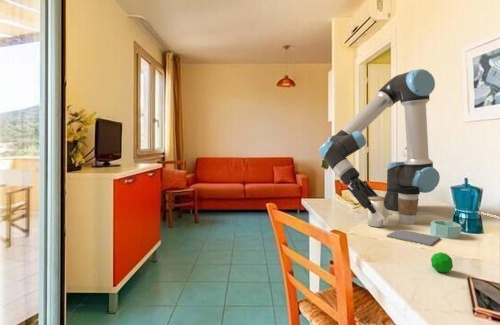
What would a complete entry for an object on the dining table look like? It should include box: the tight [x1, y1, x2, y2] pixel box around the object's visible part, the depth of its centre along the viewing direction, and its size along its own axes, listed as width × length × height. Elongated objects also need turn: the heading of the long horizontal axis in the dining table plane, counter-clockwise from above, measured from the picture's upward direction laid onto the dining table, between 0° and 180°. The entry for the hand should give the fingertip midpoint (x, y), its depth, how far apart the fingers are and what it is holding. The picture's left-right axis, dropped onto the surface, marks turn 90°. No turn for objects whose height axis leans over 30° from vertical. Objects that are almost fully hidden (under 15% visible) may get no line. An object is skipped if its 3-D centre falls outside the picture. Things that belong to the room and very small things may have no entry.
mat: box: [386, 228, 441, 247], centre depth 114 cm, size 11×14×1 cm
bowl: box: [429, 219, 462, 240], centre depth 117 cm, size 9×9×4 cm
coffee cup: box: [397, 186, 421, 225], centre depth 135 cm, size 8×8×15 cm
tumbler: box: [367, 195, 385, 228], centre depth 129 cm, size 6×6×11 cm
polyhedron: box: [430, 252, 454, 274], centre depth 85 cm, size 5×5×5 cm
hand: (384, 218), depth 126 cm, fingers closed on tumbler, 6 cm apart
